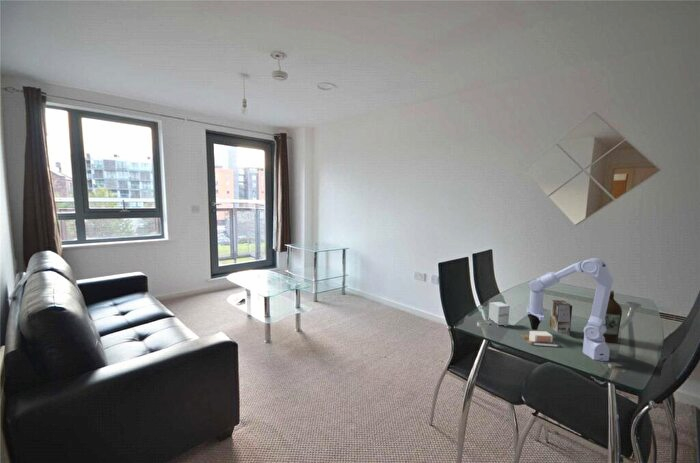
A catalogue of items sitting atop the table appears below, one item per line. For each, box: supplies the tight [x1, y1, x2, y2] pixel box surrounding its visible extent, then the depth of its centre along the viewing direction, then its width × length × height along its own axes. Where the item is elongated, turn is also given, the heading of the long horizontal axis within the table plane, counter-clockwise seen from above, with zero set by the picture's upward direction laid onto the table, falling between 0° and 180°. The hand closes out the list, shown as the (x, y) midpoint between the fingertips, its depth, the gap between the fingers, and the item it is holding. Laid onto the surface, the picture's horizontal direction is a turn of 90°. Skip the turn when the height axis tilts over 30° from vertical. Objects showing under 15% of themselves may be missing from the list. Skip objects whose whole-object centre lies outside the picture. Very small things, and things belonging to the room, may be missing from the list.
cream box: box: [528, 330, 553, 343], centre depth 146 cm, size 5×8×4 cm, turn 89°
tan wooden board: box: [519, 333, 561, 348], centre depth 148 cm, size 12×13×2 cm
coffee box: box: [549, 299, 573, 337], centre depth 161 cm, size 9×6×16 cm
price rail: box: [530, 341, 561, 348], centre depth 143 cm, size 1×12×2 cm, turn 82°
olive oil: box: [603, 289, 623, 344], centre depth 154 cm, size 11×11×25 cm
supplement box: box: [488, 301, 511, 327], centre depth 169 cm, size 7×7×13 cm
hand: (534, 329), depth 154 cm, fingers closed
